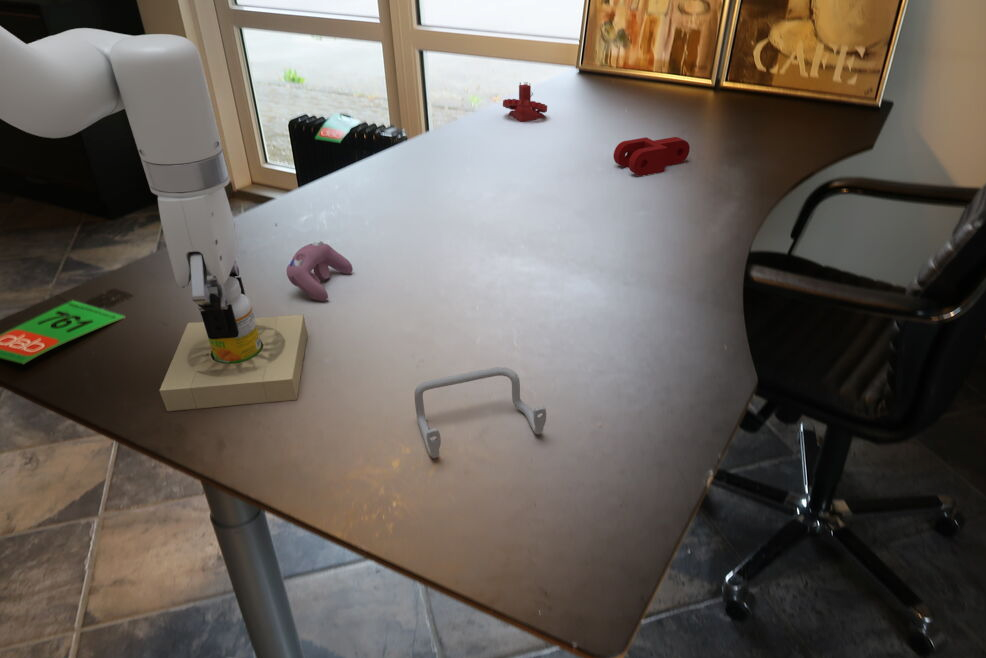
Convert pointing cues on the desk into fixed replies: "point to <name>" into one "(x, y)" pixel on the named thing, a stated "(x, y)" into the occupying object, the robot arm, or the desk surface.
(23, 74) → the robot arm
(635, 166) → the mechanical linkage
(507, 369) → the bracket
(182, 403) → the socket pad
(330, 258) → the video game controller
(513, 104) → the red cross-shaped piece
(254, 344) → the supplement bottle
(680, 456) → the desk surface
